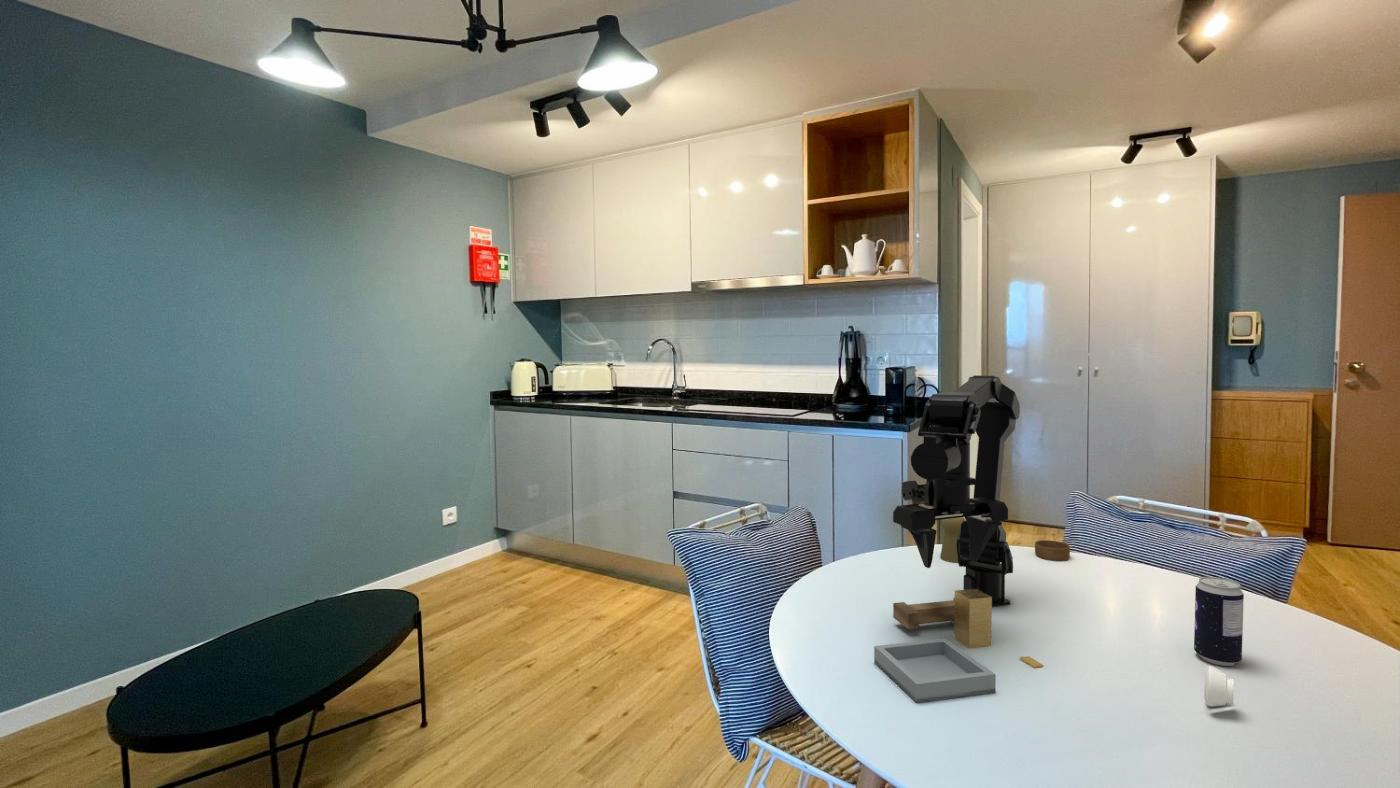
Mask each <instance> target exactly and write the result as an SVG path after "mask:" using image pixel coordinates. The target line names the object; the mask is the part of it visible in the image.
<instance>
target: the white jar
mask: <svg viewBox="0 0 1400 788" xmlns="http://www.w3.org/2000/svg"><path fill="white" fill-rule="evenodd" d="M1204 671H1205V672H1204V686H1203V687H1204V689H1203V690H1204V691H1203V694H1204V695H1203V697H1204V700H1205V703H1206V704H1207V706H1208V707H1212V708H1213V707H1218V706H1225V705H1226V704H1227V703H1229V704H1232V705H1233V704H1234V699H1235V697H1234V696H1235V695H1234V693H1235V691H1234V690H1235V689H1234V687H1235V680H1234V679H1233V678H1230V677H1229V678H1228V676H1227V675H1226V674H1225V673H1224V672H1223V671H1221V670H1219V669H1218V668H1216V667H1214V666H1213V665H1212V666H1211V665H1209V666H1207V667H1206V669H1205V670H1204Z"/></svg>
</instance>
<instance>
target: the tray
mask: <svg viewBox="0 0 1400 788" xmlns="http://www.w3.org/2000/svg"><path fill="white" fill-rule="evenodd" d="M873 650H874V653H873V658H874V659H873V660H874V662H873V663H874V664H875V665H876V667H878V668H879V669H880V670H881V671H882V672H883V673H884V674H885V675H887V677H888V678H889V679H891V681H892V682H894V683H895V684H896V685H897V686H898V687H899V688H900V689H901V690H903V692H904V693H905V694H906V695H908V696H909V698H910V699H912V701H914V702H915V704H920V703H921V704H922V703H927V702H935V701H944V700H950V699H957V698H965V697H973V696H980V695H986V694H987V695H989V694H996V683H997V682H996V677H997V675H996V673H995V672H993V671H992V670H990V669H989V668H988V667H986V666H985V665H983V664H982V663H981V662H980V661H978V660H976V659H975V658H974V657H972V656H971V655H969V654H968V653H966V652H965V651H964V650H962V649H961V648H960V647H958V646H957V645H955V644H954V643H953V642H952V641H950V640H948V639H947V638H946V637H945V638H936V639H934V638H933V639H927V640H918V641H917V640H916V641H908V642H900V643H891V644H881V645H874V647H873Z"/></svg>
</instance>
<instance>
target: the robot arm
mask: <svg viewBox="0 0 1400 788" xmlns="http://www.w3.org/2000/svg"><path fill="white" fill-rule="evenodd" d="M1000 378H1001V377H1000V376H996V375H983V374H982V375H978V374H977V375H973V376H969V377H968V380H967V381H966V382H965V383H963V384H961V385H960V386H959V387H958V388H956V389H955V390H953V391H950V392H939V393H937V392H936V393H933V394H932V395H931V396H930V397H929V399H928V400H927V401H925V405H924V407H923V408H924V410H923V413H922V415H921V420H920V424H919V428H918V432H917V436H918V437H923V442H922V443H921V444H918V445H917V446H916V447H915V448H914V449H913V450H912V454H911V456H910V464H911V468H912V470H913V471H914V472H915V474H916V475H917V476H919V477H920V478H921V479H924V480H926V482H925V484H918V482H917V480H907V481H902V483H901V485H902V487H901V494H902V498H903V500H904V501H905V502H907V501H908V502H909V501H911V504H910V503H909V504H901V505H900V504H898V505H896V506H895V508H894V509H893V511H892V512H893V513H892V523H895V524H897V525H899V526H900V527H901V528H903V529H905V530H907V531H908V532H909V533H910V535H911V536H912V538H913V541H914V542H915V544H916V547H917V550H918V553H919V555H920V558H921V561H922V563H923V566H924V567H925V569H931V567H932V563H933V559H934V558H933V557H934V551H935V543H936V537H937V530H936V529H934V528H933V527H934V526H935V524H936V521H939V520H941V521H942V519H950V518H960V517H963V518H964V519H965V520H966V521H963V522H962V524H961V532H960V535H959V536H958V539H957V556H958V563H957V564H958V567H961V568H962V567H963V568H965V574H964V575H963V590H967V589H978V590H980V591H982V592H983V593H985V594H987V595H989V596H991V597H992V607H994V606H1003V605H1010V604H1011V600H1009V599H1007V598H1005V597H1006V596H1005V595H1006V593H1005V590H1006V589H1005V588H1006V585H1005V584H1006V583H1005V581H1006V580H1005V579H1006V575H1008V574H1013V573H1014V561H1013V559H1014V558H1013V555H1012V552H1011V551H1012V550H1011V548H1010V545H1009V543H1008V541H1007V532H1006V530H1005V527H1004V526H1003V521H1008V520H1009V508H1008V506H1007V505H1006V503H1005V502H1004V501H1001V487H1002V475H1003V465H1004V464H1003V463H1004V455H1005V454H1004V453H1005V452H1004V451H1005V442H1006V441H1007V439H1008V438H1009V437H1010V436H1011V435H1012V434H1013V432H1014V431H1015V429H1016V423H1017V420H1018V419H1019V417H1020V412H1021V411H1020V409H1021V407H1020V401H1019V400H1018V399H1019V398H1018V397H1017V394H1016V392H1015V391H1014V390H1013V389H1011V388H1009V387H1008V386H1007V385H1005V384H1003V383H1002V381H1001V379H1000ZM975 434H977V437H978V443H977V455H976V456H977V457H976V464H975V465H976V466H975V474H974V477H971V439H972V435H975ZM971 486H974V487H973V497H971ZM970 497H971V498H970ZM922 505H924V506H922ZM925 506H926V507H925ZM927 507H932V508H927Z"/></svg>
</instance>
